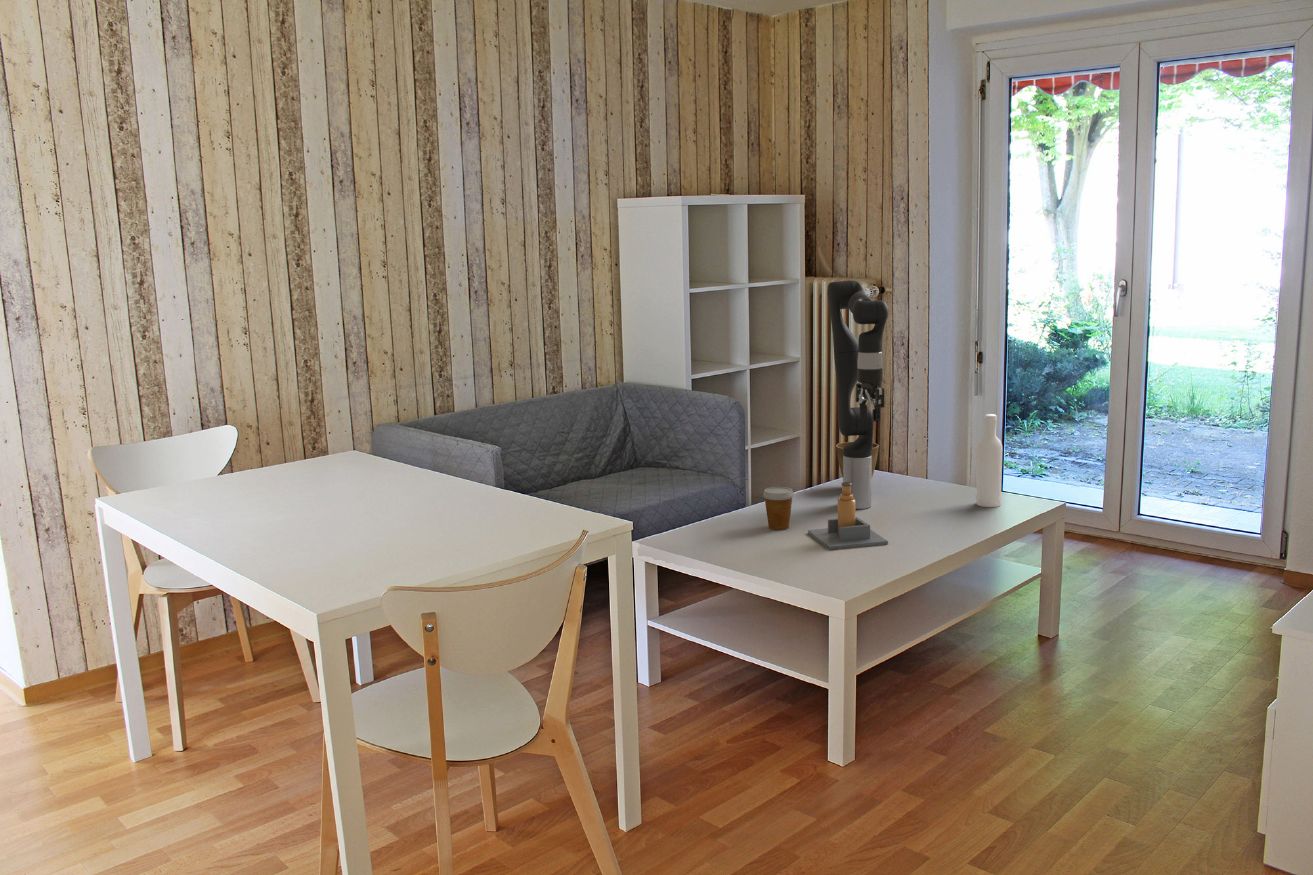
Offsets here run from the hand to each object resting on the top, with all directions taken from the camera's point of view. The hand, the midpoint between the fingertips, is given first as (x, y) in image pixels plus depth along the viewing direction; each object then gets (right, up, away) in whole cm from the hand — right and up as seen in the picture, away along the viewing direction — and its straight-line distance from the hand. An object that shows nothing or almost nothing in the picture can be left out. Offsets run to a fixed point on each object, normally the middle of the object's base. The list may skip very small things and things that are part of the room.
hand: (869, 419), depth 314 cm
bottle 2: (+44, -28, +23) cm, 57 cm away
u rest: (-9, -36, -10) cm, 38 cm away
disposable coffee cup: (-27, -34, +5) cm, 44 cm away
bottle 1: (-9, -35, -10) cm, 37 cm away
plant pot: (+6, -24, +50) cm, 56 cm away
